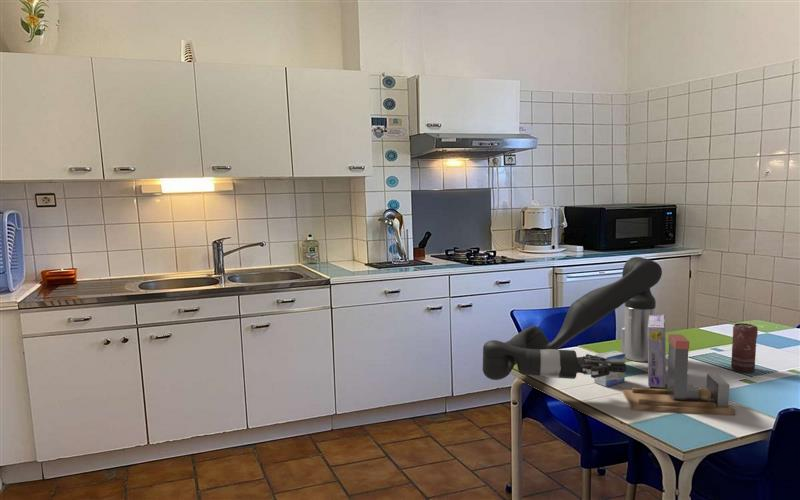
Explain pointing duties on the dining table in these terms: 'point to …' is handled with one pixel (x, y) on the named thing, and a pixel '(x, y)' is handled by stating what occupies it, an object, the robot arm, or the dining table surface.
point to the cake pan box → (656, 351)
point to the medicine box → (613, 376)
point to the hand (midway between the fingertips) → (625, 367)
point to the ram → (679, 370)
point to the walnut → (704, 394)
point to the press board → (670, 403)
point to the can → (744, 347)
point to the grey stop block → (718, 390)
